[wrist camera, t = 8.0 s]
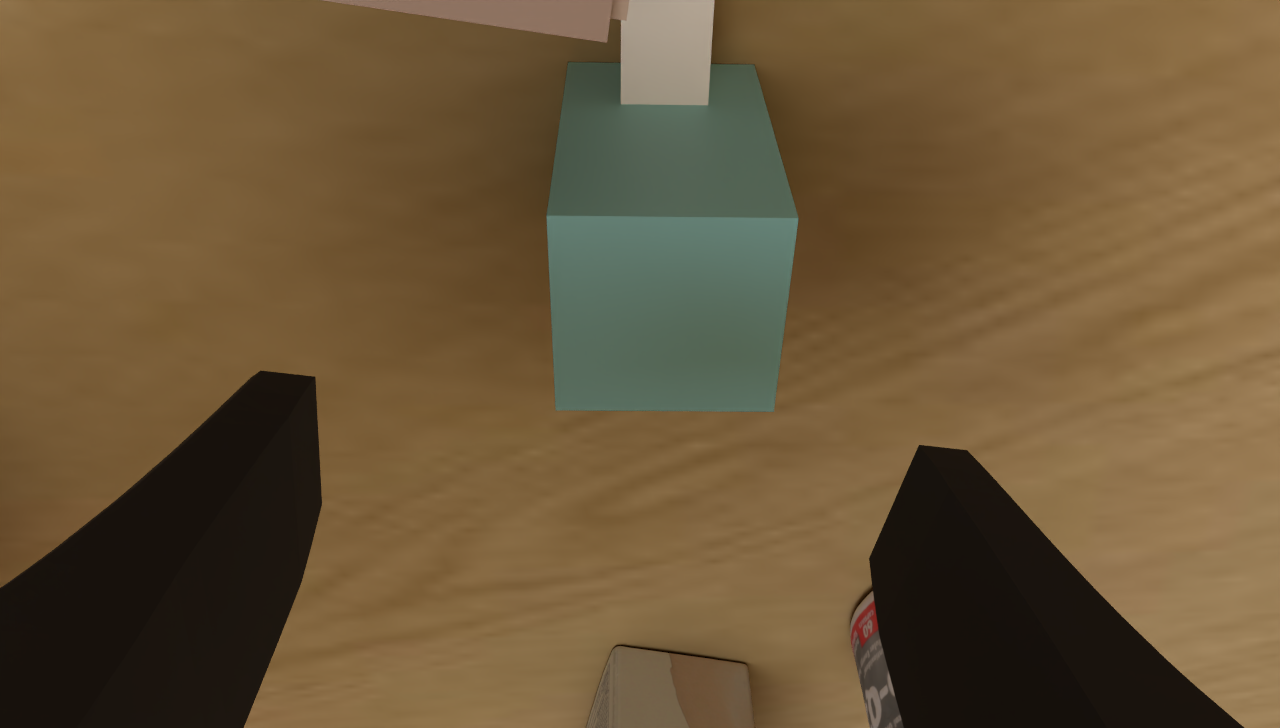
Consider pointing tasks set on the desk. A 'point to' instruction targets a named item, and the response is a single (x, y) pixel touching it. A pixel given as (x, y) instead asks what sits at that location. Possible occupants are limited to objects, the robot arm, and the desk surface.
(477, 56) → the desk surface
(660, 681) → the box
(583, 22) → the cabinet
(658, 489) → the desk surface
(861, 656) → the pill bottle
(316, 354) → the desk surface
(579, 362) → the teal toy mallet
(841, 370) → the desk surface
